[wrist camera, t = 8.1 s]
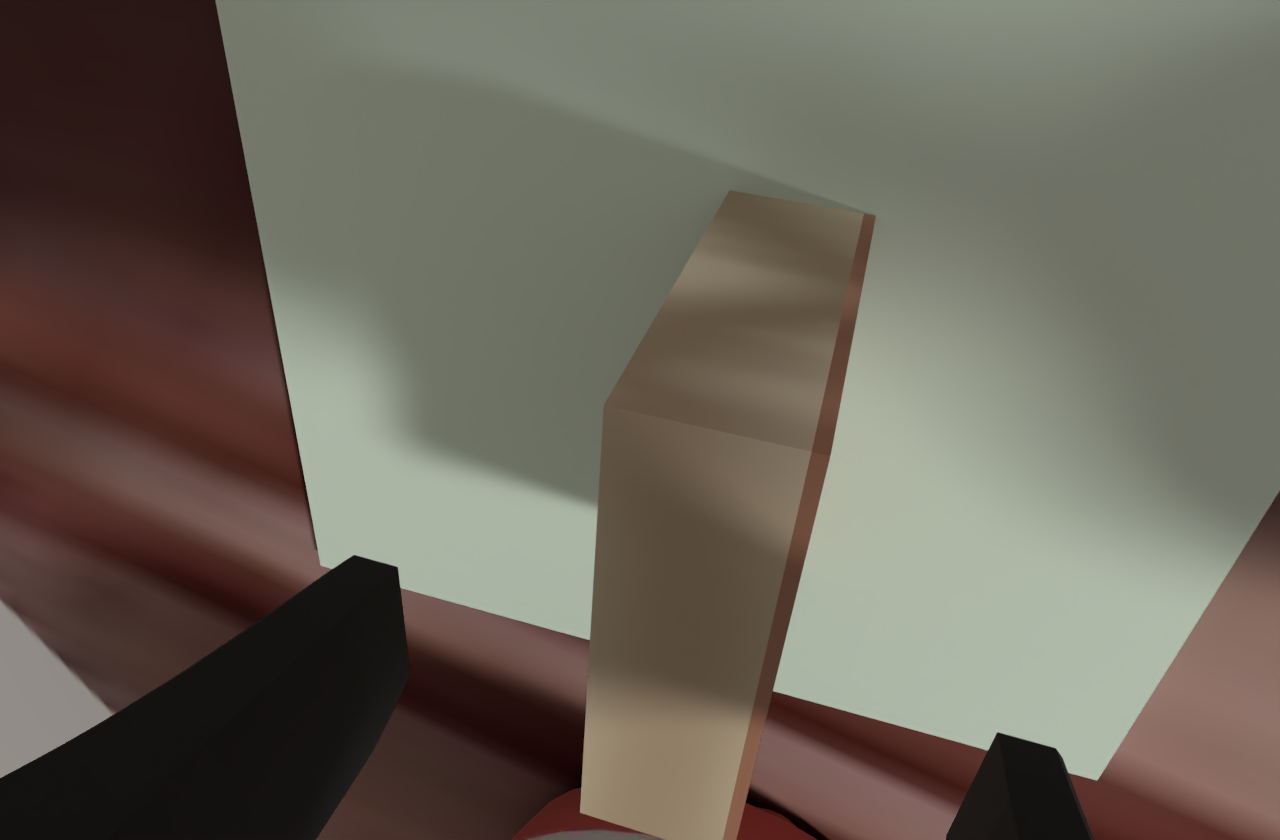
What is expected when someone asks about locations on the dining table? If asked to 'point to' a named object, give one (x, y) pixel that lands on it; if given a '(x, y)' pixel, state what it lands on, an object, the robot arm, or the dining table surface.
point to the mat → (885, 326)
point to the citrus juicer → (570, 836)
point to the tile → (713, 511)
